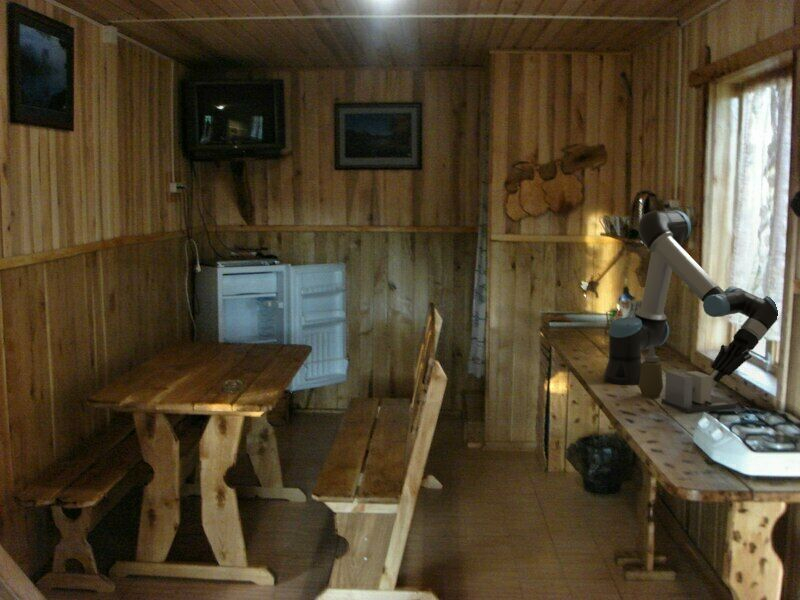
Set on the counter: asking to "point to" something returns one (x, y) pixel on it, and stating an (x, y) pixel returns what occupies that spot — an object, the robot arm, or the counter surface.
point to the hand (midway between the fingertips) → (706, 387)
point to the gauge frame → (688, 395)
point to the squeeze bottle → (651, 375)
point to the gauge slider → (701, 387)
